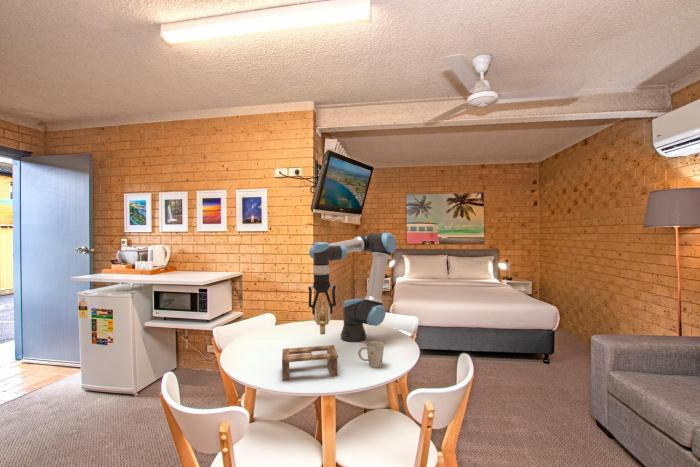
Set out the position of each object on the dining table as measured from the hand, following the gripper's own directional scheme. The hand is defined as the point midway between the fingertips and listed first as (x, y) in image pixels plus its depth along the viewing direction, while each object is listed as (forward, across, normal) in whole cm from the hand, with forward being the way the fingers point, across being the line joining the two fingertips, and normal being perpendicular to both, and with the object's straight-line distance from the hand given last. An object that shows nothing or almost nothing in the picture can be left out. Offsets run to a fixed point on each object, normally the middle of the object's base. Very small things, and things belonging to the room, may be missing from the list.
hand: (322, 320), depth 160 cm
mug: (+20, -22, +10) cm, 31 cm away
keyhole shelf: (+19, +7, +12) cm, 24 cm away
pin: (+6, 0, 0) cm, 6 cm away
